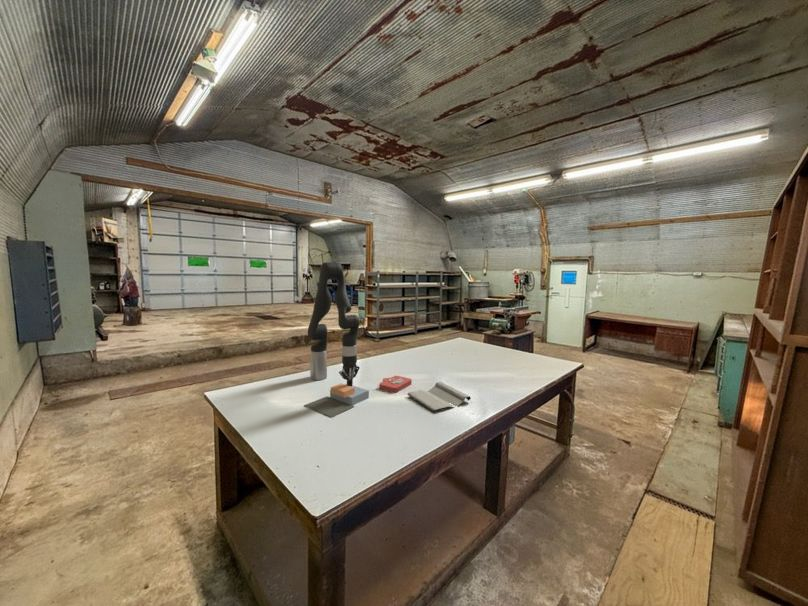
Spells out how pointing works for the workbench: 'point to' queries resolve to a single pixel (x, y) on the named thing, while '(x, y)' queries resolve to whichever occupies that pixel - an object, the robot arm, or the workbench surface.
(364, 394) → the block
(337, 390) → the orange block
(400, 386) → the red flat case
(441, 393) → the mat
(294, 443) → the workbench surface
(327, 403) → the pad
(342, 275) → the robot arm
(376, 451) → the workbench surface
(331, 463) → the workbench surface
